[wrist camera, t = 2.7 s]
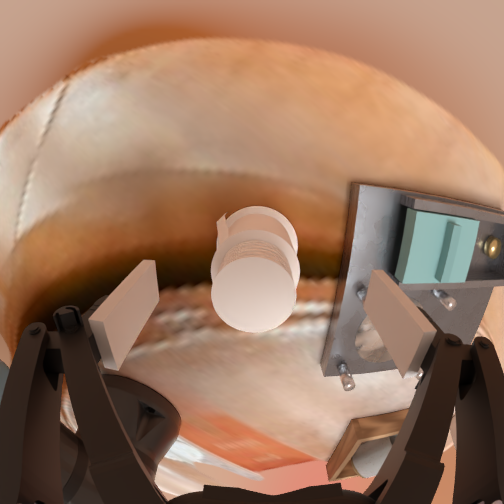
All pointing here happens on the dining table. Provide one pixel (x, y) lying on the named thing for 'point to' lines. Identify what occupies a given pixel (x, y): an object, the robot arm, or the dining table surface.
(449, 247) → the cover
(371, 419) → the wooden caddy
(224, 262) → the downlight
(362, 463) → the ceramic mug
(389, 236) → the housing board
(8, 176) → the dining table surface
